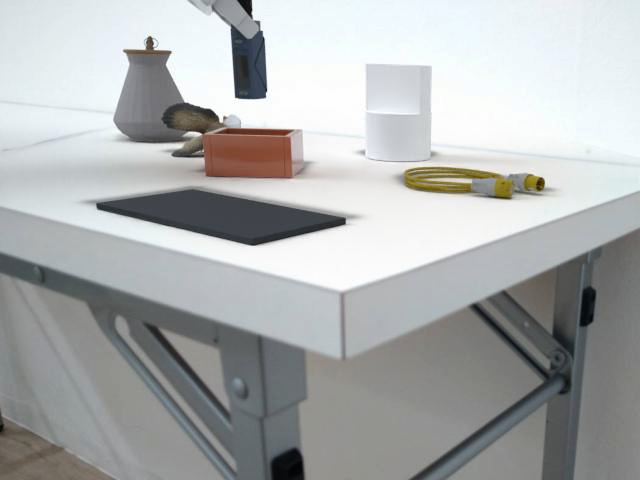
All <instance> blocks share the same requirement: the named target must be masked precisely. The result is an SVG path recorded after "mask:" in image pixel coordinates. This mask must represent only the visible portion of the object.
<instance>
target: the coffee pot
mask: <svg viewBox="0 0 640 480" xmlns="http://www.w3.org/2000/svg"><path fill="white" fill-rule="evenodd" d="M154 41H156V43H157V45H156V46H155V42H154ZM143 44H144V46H145V49H137V48H135V49H133V48H132V49H131V48H130V49H129V48H124V49H122V52H123V53H124V54H126V57H127V60H128V63H129V65H128V68H127V72H126V75H125V78H124V81H123V85H122V88H121V92H120V95H119V98H118V101H117V105H116V108H115V111H114V115H113V119H112V121H113V123H114V125H115V126H116V128H117V130H118V131H119V132H121V133H122V134H123V135H124V136H127V137H128V140H130V141H134V142H151V143H152V142H155V143H156V142H174V141H180V140H183V136H185V135H186V134H187V133H189V132H187V131H182V130H175V129H170V128H167V127H166V126H167V125H166V124H164V123H163V121H162V120H161V118H162V116H163V113H164V112H165V110H166V109H168V107H169V106H172V105H175V104H177V103H178V104H179V103H183V102H185V100H184V97H183V96H182V94H181V92H180V90H179V88H178V86H177V84H176V82H175V80H174V78H173V76H172V75H171V72H170V70H169V68H168V66H167V62H168V61H169V59H170V56H171V55H172V53H173V51H172V50H169V49H167V50H166V49H163V50H162V49H156V48H158V46H159V42H158V39H156V38H155V37H152V36H151V35H148V37H146V38H145V39H144V40H143Z"/></svg>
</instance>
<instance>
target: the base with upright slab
mask: <svg viewBox="0 0 640 480" xmlns="http://www.w3.org/2000/svg"><path fill="white" fill-rule="evenodd" d="M432 68H433V66H432V65H425V64H424V65H423V64H422V65H421V64H393V63H365V110H364V131H365V132H364V148H365V149H364V150H365V151H364V152H365V154H364V157H365V158H367V159H369V160H373V161H374V160H375V161H382V162H383V161H384V162H422V161H428V160H430V159H431V156H432V155H431V153H432V73H433V69H432Z"/></svg>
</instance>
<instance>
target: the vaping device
mask: <svg viewBox="0 0 640 480" xmlns="http://www.w3.org/2000/svg"><path fill="white" fill-rule="evenodd" d="M237 1H238V3H239V4H240V5H241V6H242V8H243V9H244V10H245V12H246V13H247V14H248V15H249V16H250V17H251V19H252V20H253V21H254V22H255V23H256V24H257V25H258V26H259V31H258V32H257V33H256V34H255V35H254V36H253V37H252V38H251V39H247V38H245V37H244V36H243V35H242V34H241V33H240V32H239V31H238V30H237V29H236V27H235V26H233V25H232V24H231V27H230V41H231V43H230V45H231V57H232V59H231V60H232V73H233V74H232V75H233V88H234V89H233V90H234V98H235V99H238V100H262V99H263V100H264V99H266V98H267V93H268V75H267V56H266V55H267V53H266V38H265V36H264V30H262V29H261V20H254V15H253V12H254V11H253V0H237Z"/></svg>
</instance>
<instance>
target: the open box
mask: <svg viewBox="0 0 640 480" xmlns="http://www.w3.org/2000/svg"><path fill="white" fill-rule="evenodd" d="M303 134H304V133H303V129H299V128H297V129H295V128H265V127H263V128H262V127H259V128H257V127H241V128H228V127H222V128H219V129H216V130H214V131H211V132H208V133H205V134H203V135H202V134H201V135H202V138H203V159H204V171H205V177H228V178H229V177H231V178H232V177H234V178H277V179H280V178H281V179H285V178H286V179H293V178H294V177H295V176H296V175H297V174H298V173H299V172H301V170H303V169H304V167H305V163H304V162H305V161H304V159H305V158H304V138H303V137H304V136H303Z"/></svg>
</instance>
